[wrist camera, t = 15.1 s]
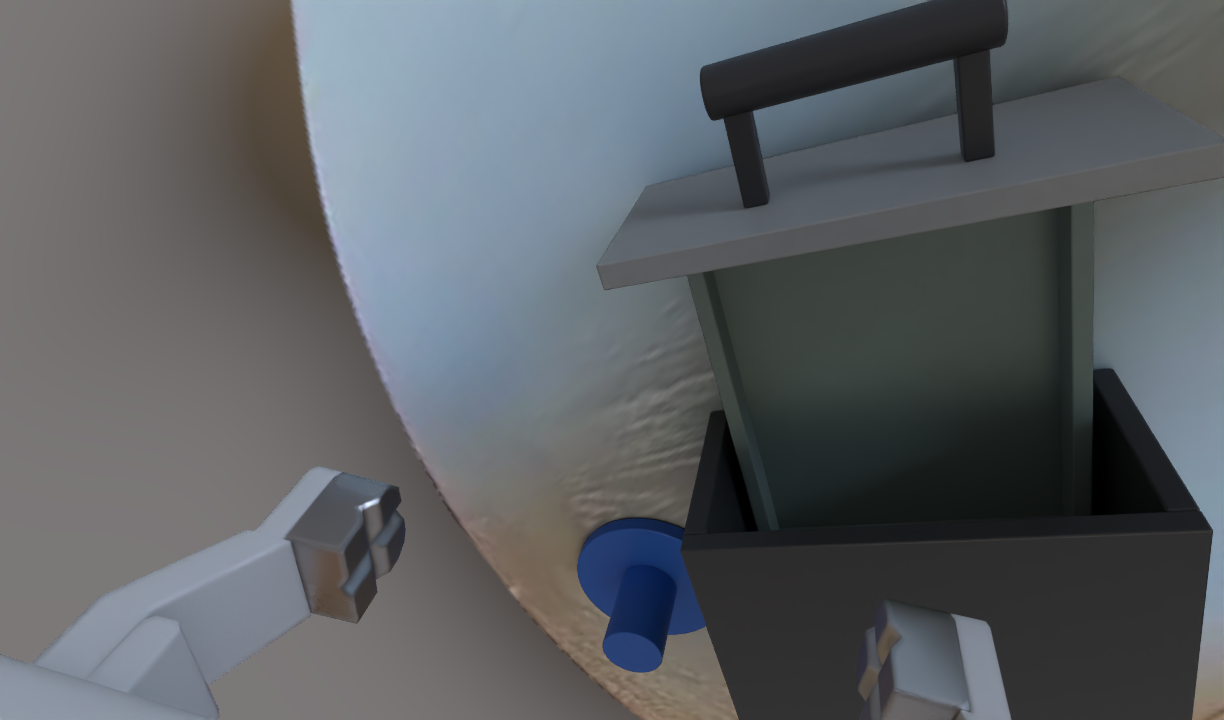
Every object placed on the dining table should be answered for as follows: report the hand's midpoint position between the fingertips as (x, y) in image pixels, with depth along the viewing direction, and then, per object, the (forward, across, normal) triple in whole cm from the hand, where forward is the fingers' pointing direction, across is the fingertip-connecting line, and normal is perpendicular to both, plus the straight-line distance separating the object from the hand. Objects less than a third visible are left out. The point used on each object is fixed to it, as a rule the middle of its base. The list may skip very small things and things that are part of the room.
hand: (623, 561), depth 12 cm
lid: (+16, +1, +20) cm, 26 cm away
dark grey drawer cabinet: (+16, -10, +14) cm, 24 cm away
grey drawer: (+16, -6, +3) cm, 17 cm away
